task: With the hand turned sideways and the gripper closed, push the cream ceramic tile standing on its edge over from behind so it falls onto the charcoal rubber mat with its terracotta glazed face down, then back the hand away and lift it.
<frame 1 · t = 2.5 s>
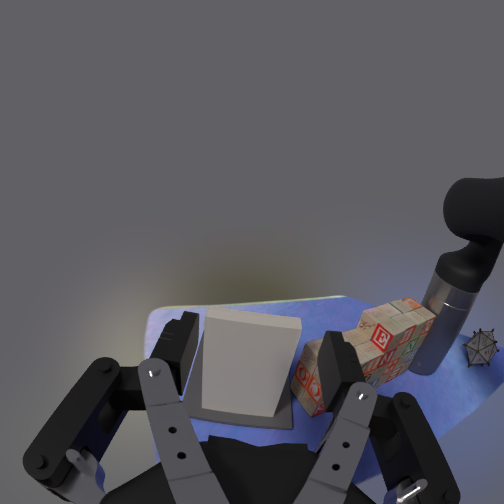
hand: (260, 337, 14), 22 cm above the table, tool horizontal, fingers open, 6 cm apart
stack of blocks: (354, 381, 39), on the table
mat: (241, 367, 39), on the table
game die: (472, 363, 42), on the table
tile: (237, 408, 32), resting on mat
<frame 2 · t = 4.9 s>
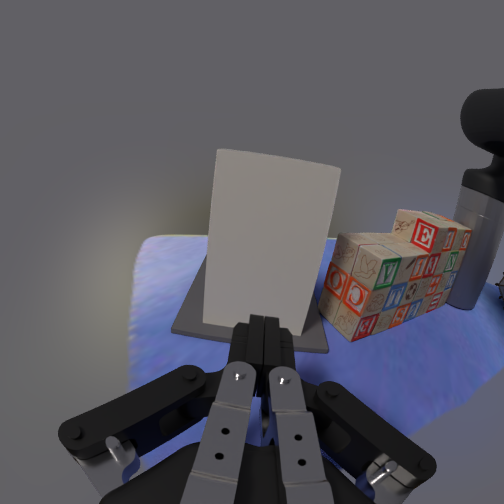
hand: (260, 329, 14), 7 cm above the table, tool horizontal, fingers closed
stack of blocks: (391, 310, 32), on the table
mat: (254, 286, 33), on the table
tile: (252, 324, 26), resting on mat
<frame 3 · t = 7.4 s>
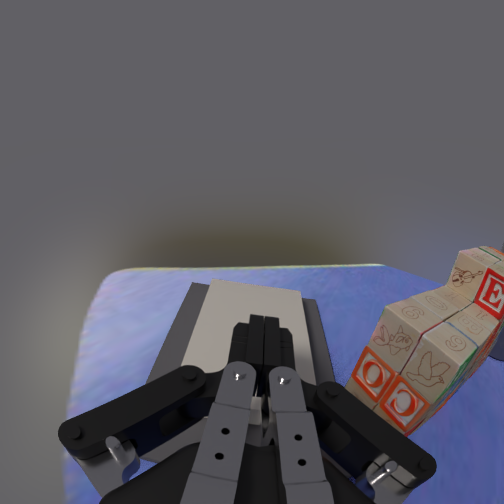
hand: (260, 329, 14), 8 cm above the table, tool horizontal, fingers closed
stack of blocks: (431, 381, 21), on the table
mat: (247, 361, 22), on the table
tile: (244, 416, 15), point 2 cm above the table, tilted 90°, touching mat
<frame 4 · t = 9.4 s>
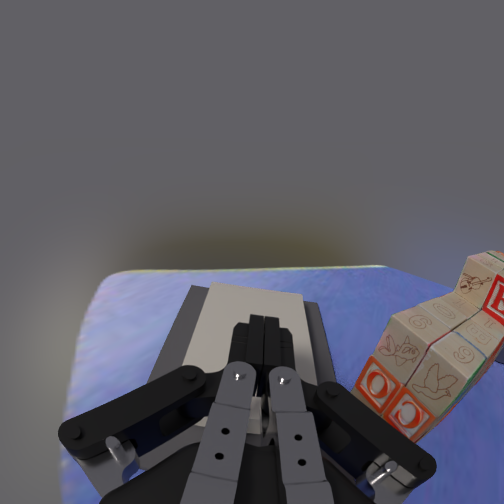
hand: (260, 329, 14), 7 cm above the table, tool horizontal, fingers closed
stack of blocks: (435, 388, 20), on the table, touching mat
mat: (247, 367, 21), on the table
tile: (244, 425, 14), point 2 cm above the table, tilted 90°, touching mat
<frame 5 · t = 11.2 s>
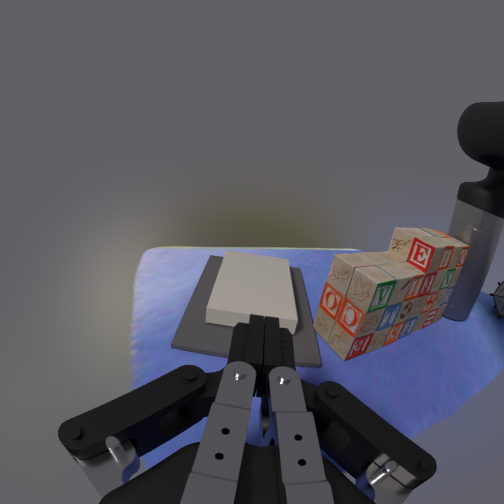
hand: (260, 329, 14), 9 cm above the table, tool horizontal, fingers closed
stack of blocks: (387, 326, 33), on the table
mat: (251, 300, 34), on the table
game die: (500, 316, 36), on the table
tile: (251, 321, 27), point 2 cm above the table, tilted 90°, touching mat
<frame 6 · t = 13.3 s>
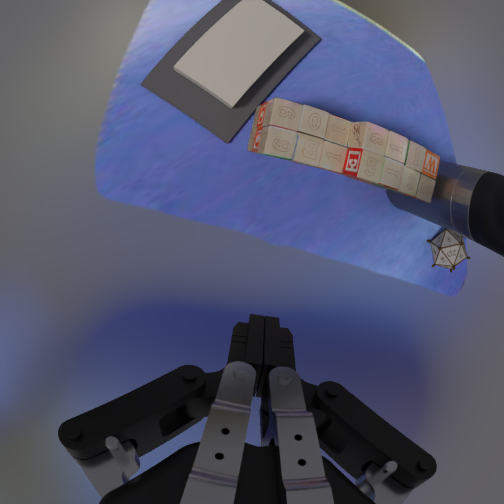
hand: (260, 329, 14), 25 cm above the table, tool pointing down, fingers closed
stack of blocks: (323, 148, 37), on the table
mat: (234, 53, 30), on the table
game die: (434, 242, 47), on the table
tile: (202, 87, 29), point 2 cm above the table, tilted 90°, touching mat
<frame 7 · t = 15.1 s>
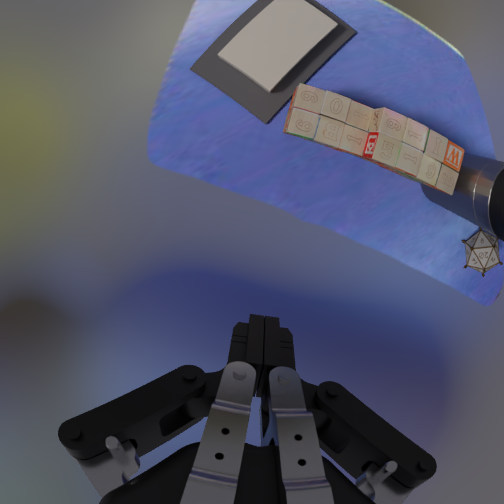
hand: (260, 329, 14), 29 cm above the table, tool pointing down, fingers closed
stack of blocks: (356, 136, 37), on the table
mat: (274, 44, 32), on the table
game die: (470, 243, 41), on the table
tile: (243, 73, 32), point 2 cm above the table, tilted 90°, touching mat
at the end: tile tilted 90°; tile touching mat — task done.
